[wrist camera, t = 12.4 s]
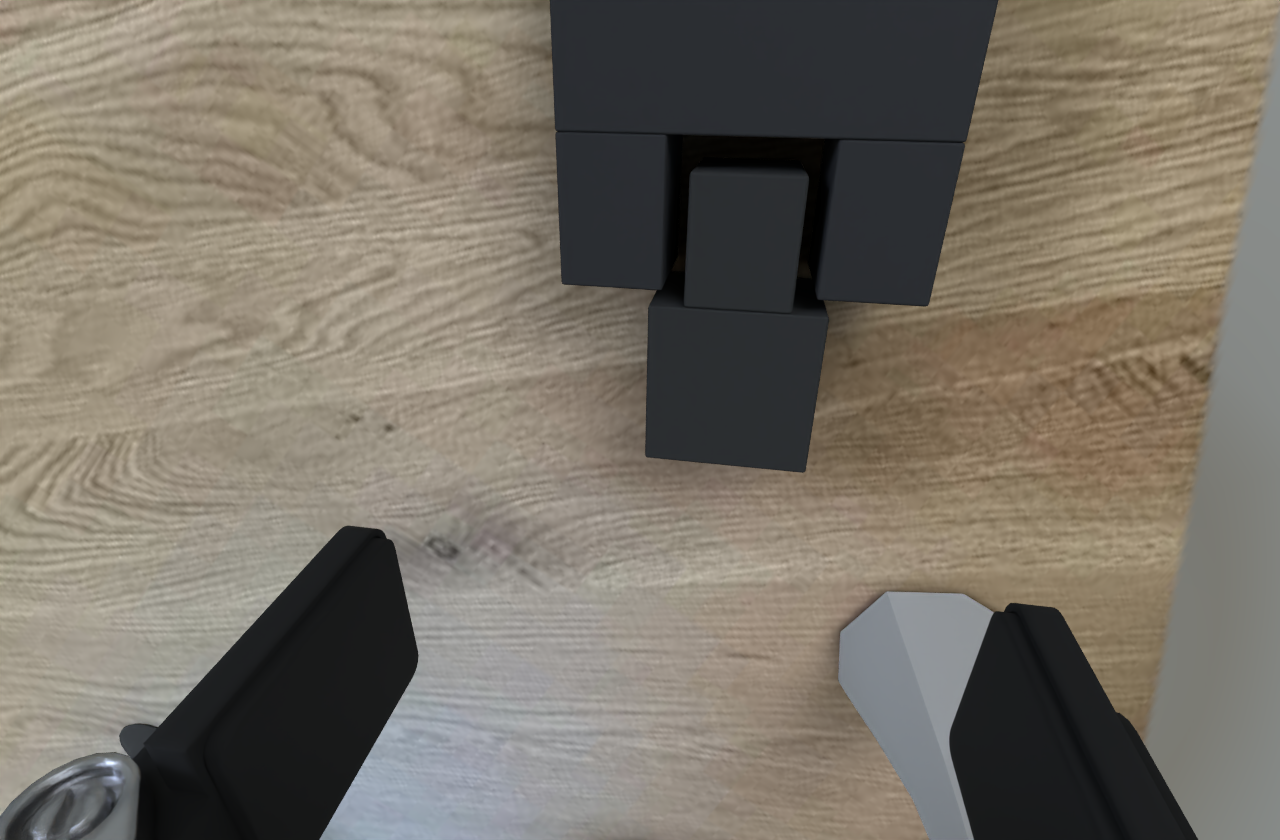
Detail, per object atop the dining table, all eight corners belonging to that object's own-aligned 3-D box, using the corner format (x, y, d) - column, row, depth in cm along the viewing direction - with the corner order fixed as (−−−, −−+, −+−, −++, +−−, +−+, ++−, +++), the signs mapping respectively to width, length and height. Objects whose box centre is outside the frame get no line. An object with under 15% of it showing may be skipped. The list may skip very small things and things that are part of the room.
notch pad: (900, 269, 21) (929, 307, 17) (593, 253, 22) (561, 285, 18) (981, -134, 16) (1043, -197, 12) (585, -123, 17) (541, -176, 14)
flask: (872, 564, 26) (929, 810, 17) (1052, 614, 25) (1205, 891, 17) (810, 683, 29) (832, 938, 20) (968, 728, 29) (1059, 1007, 20)
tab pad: (798, 415, 23) (805, 473, 20) (662, 403, 24) (645, 457, 21) (835, 160, 19) (851, 177, 16) (670, 155, 20) (650, 170, 17)
